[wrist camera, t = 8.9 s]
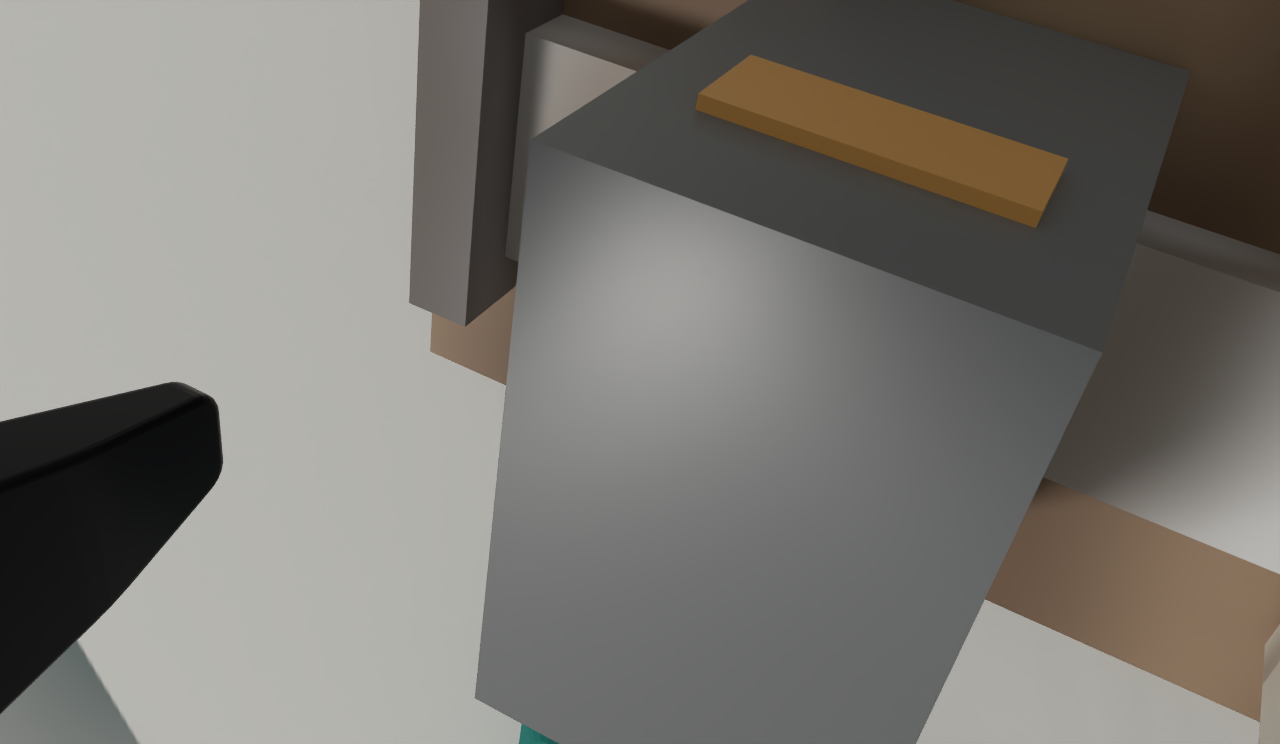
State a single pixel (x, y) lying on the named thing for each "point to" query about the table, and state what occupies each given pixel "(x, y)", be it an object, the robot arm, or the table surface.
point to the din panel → (1121, 382)
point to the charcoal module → (800, 363)
